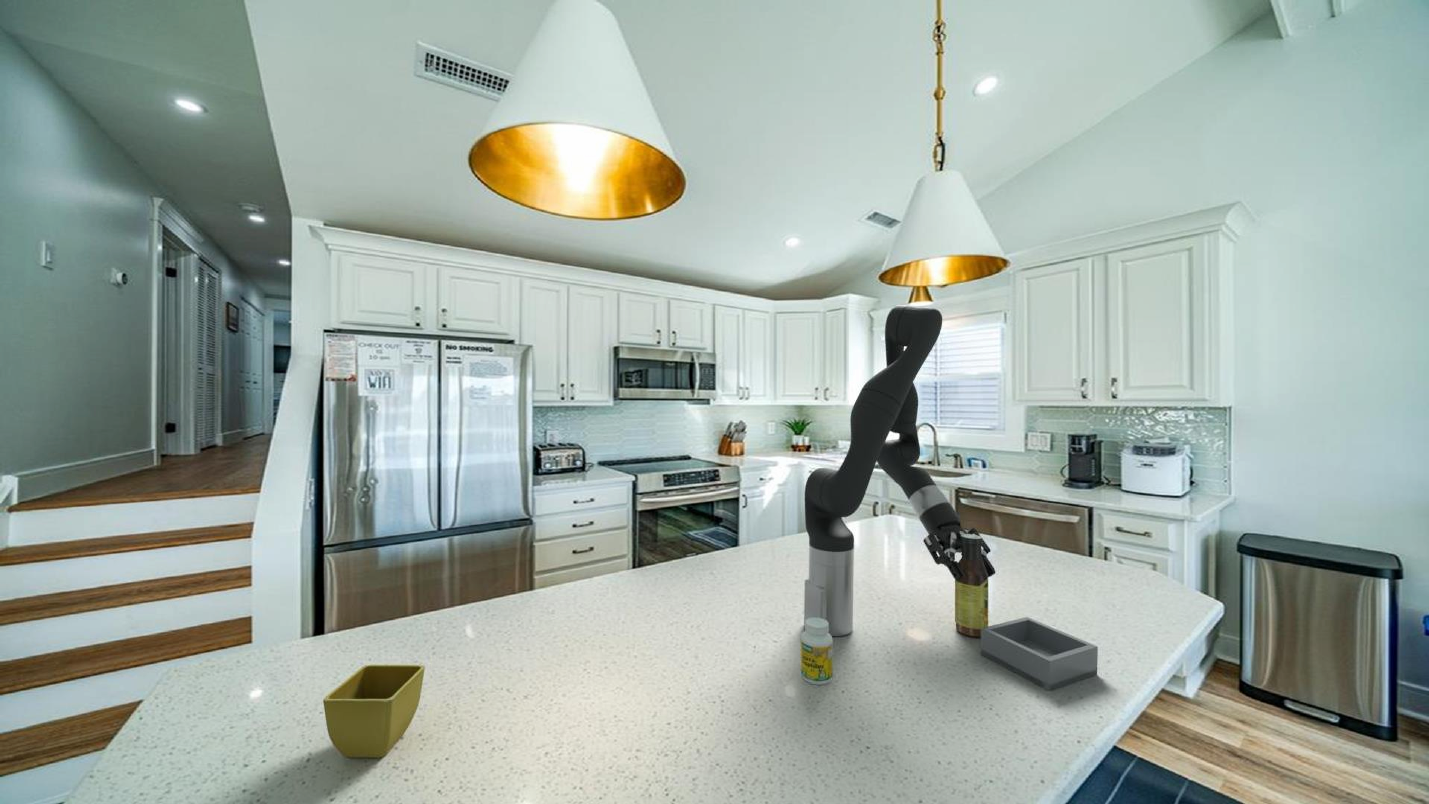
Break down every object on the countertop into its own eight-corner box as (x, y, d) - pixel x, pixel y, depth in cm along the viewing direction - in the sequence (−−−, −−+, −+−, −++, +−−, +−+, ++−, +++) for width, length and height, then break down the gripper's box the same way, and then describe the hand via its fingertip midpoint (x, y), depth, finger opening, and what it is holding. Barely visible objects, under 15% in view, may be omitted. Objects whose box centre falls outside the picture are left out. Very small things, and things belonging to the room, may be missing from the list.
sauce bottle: (992, 640, 102) (994, 542, 102) (959, 637, 104) (960, 539, 103) (982, 626, 109) (983, 533, 109) (950, 623, 110) (952, 531, 110)
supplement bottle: (836, 674, 89) (836, 619, 89) (827, 689, 85) (827, 632, 85) (806, 665, 92) (807, 613, 92) (796, 680, 87) (797, 624, 87)
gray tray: (1049, 691, 85) (1049, 661, 85) (980, 654, 97) (981, 628, 97) (1097, 674, 90) (1097, 646, 90) (1026, 641, 102) (1026, 617, 102)
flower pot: (426, 725, 74) (426, 663, 74) (390, 768, 66) (390, 699, 66) (364, 725, 74) (365, 664, 74) (320, 769, 65) (320, 700, 65)
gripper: (919, 503, 110) (964, 573, 100) (966, 498, 116) (1013, 564, 105) (901, 522, 115) (941, 591, 105) (947, 516, 121) (990, 581, 110)
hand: (977, 577), depth 105 cm, fingers open, 8 cm apart
